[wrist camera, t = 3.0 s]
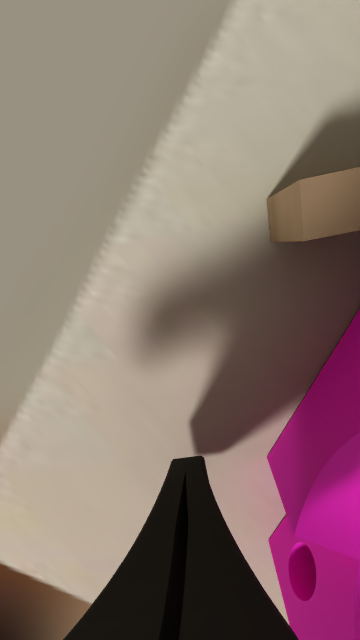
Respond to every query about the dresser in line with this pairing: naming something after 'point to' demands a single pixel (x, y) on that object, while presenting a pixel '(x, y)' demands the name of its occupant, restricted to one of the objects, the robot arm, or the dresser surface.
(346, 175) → the pair of brown pieces
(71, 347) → the dresser surface
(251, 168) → the dresser surface
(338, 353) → the toy block
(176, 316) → the dresser surface
